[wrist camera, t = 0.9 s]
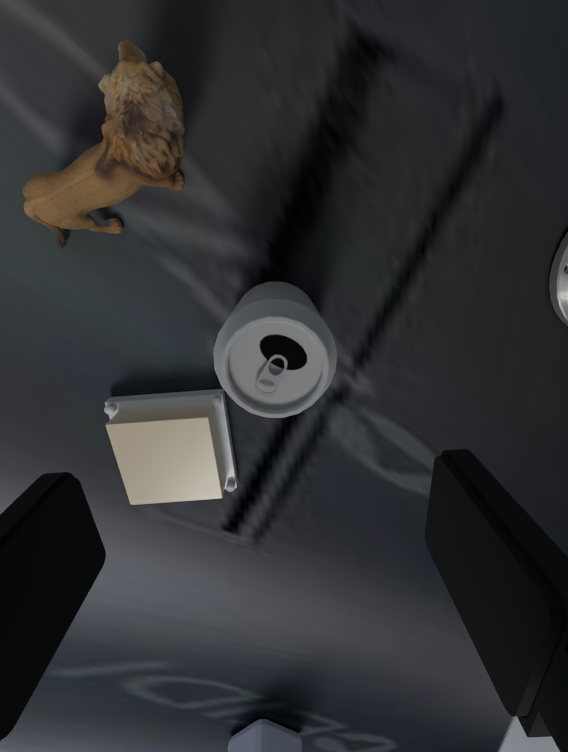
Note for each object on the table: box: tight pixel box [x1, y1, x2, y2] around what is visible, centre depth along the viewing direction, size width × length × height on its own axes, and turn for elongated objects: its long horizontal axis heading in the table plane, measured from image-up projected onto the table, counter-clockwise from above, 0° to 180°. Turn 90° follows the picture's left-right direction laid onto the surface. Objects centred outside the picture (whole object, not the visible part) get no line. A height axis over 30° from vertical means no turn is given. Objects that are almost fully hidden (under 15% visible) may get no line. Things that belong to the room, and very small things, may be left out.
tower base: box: [104, 389, 238, 505], centre depth 32 cm, size 11×11×4 cm
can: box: [214, 281, 337, 418], centre depth 24 cm, size 8×8×12 cm
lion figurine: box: [23, 40, 185, 250], centre depth 21 cm, size 15×5×9 cm, turn 127°
